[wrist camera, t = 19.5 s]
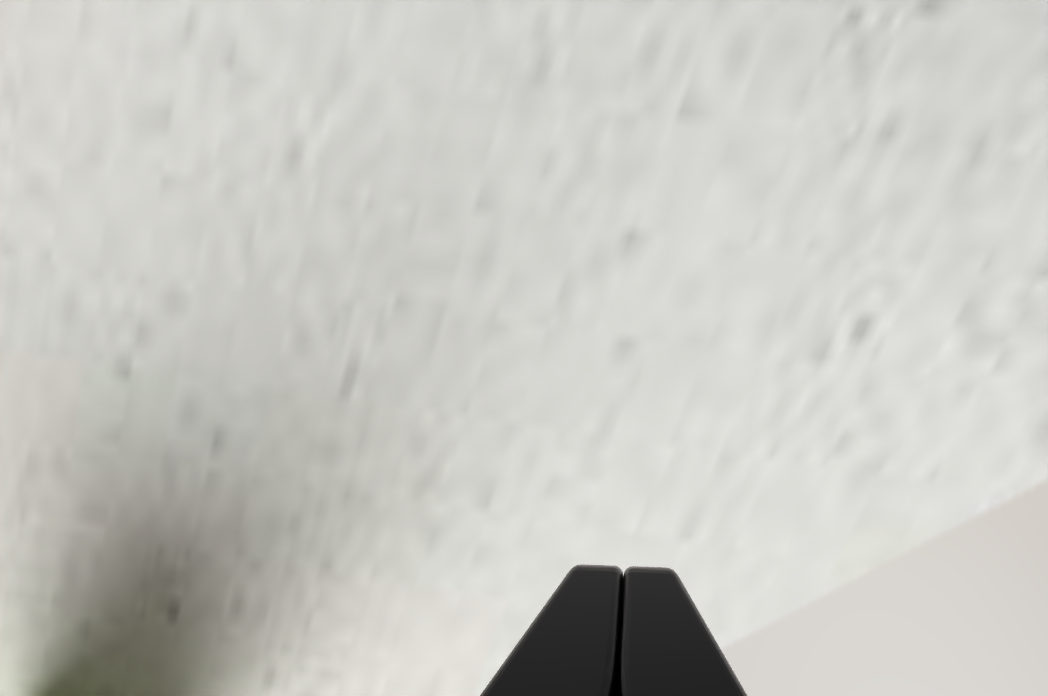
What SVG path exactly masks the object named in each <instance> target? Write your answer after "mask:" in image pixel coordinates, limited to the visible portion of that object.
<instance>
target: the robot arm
mask: <svg viewBox="0 0 1048 696" xmlns="http://www.w3.org/2000/svg"><path fill="white" fill-rule="evenodd" d="M480 696H747V694H746V693H745V691H744V689H743V688H742V686H741V684H740V682H739V681H738V679H737V677H736V675H735V674H734V672H733V670H732V668H731V667H730V665H729V663H728V661H727V660H726V658H725V656H724V654H723V653H722V651H721V649H720V647H719V646H718V644H717V642H716V641H715V639H714V637H713V635H712V634H711V632H710V630H709V628H708V627H707V625H706V623H705V621H704V620H703V618H702V616H701V615H700V613H699V611H698V609H697V608H696V606H695V604H694V602H693V601H692V599H691V597H690V595H689V594H688V592H687V590H686V588H685V587H684V585H683V583H682V582H681V580H680V578H679V577H678V575H677V574H676V572H675V571H673V570H672V569H670V568H661V567H634V566H633V567H629V568H627V569H626V571H625V572H624V577H623V572H622V571H621V569H620V568H619V567H617V566H605V565H577V566H575V567H573V568H572V569H571V570H570V571H569V573H568V574H567V575H566V577H565V578H564V579H563V581H562V582H561V584H560V585H559V586H558V588H557V589H556V591H555V592H554V593H553V595H552V596H551V598H550V599H549V600H548V602H547V603H546V605H545V606H544V607H543V609H542V610H541V612H540V613H539V614H538V616H537V617H536V618H535V620H534V621H533V623H532V624H531V625H530V627H529V628H528V630H527V631H526V632H525V634H524V635H523V637H522V638H521V639H520V641H519V642H518V644H517V645H516V646H515V648H514V649H513V651H512V652H511V653H510V655H509V656H508V658H507V659H506V660H505V662H504V663H503V665H502V666H501V667H500V669H499V670H498V671H497V673H496V674H495V676H494V677H493V678H492V680H491V681H490V683H489V684H488V685H487V687H486V688H485V690H484V691H483V692H482V694H481V695H480Z"/></svg>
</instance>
